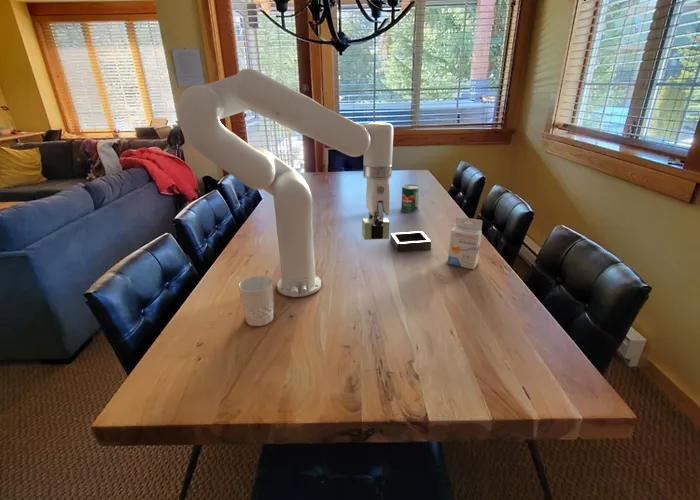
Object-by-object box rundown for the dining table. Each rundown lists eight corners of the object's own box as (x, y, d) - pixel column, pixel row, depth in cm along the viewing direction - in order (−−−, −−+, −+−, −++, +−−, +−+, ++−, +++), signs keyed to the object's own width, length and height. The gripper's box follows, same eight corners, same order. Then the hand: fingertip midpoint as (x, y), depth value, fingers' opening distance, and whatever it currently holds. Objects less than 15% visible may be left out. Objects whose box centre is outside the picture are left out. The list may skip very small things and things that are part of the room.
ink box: (447, 264, 119) (451, 220, 114) (451, 258, 123) (455, 216, 118) (474, 269, 116) (480, 225, 110) (477, 263, 120) (483, 220, 114)
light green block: (388, 238, 106) (389, 221, 104) (364, 239, 105) (364, 222, 103) (385, 233, 109) (386, 217, 107) (362, 234, 108) (362, 218, 106)
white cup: (262, 306, 98) (258, 272, 94) (282, 317, 93) (279, 281, 89) (237, 320, 92) (231, 284, 88) (257, 332, 88) (252, 295, 84)
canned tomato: (417, 207, 176) (419, 184, 172) (418, 212, 169) (420, 188, 165) (400, 207, 177) (401, 184, 173) (401, 212, 170) (402, 188, 166)
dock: (430, 249, 131) (431, 241, 129) (397, 251, 129) (397, 243, 128) (421, 239, 140) (422, 231, 138) (390, 241, 138) (390, 233, 137)
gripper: (399, 178, 93) (395, 246, 100) (384, 165, 108) (381, 225, 115) (369, 178, 92) (367, 247, 99) (358, 166, 107) (357, 226, 114)
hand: (375, 234), depth 107 cm, fingers closed on light green block, 4 cm apart
